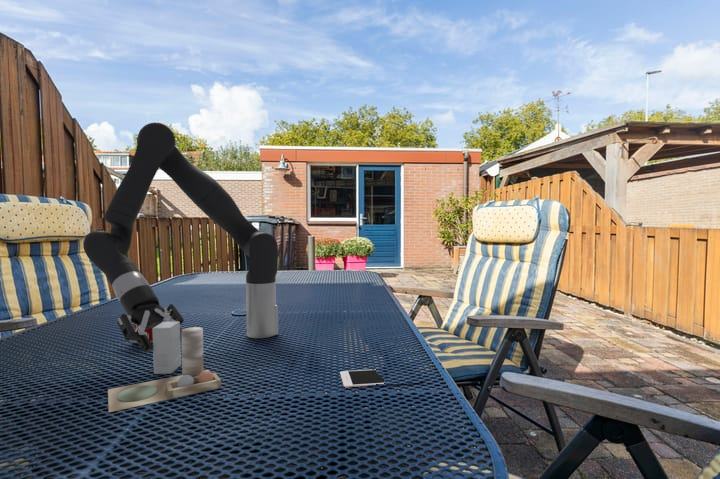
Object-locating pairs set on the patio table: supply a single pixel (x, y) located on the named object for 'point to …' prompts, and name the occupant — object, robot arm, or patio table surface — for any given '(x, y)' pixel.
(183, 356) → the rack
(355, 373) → the cell phone
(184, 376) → the ball
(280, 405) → the patio table surface
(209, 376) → the ball
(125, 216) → the robot arm
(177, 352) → the skincare box
